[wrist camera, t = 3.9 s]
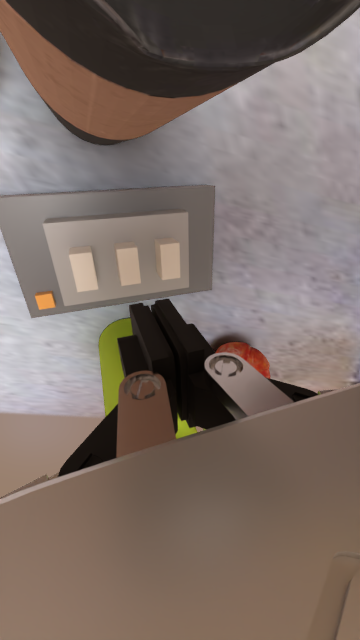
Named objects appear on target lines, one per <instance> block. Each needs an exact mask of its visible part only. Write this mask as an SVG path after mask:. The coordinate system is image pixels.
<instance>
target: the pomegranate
mask: <svg viewBox="0 0 360 640" xmlns="http://www.w3.org/2000/svg"><path fill="white" fill-rule="evenodd" d="M224 352H227V353H233V354H235V355H238V356H240V357H241V358H243V359H244V360H245V361H246V362H248V363H249V364H250V365H251V366H252V367H254V368H255V369H256V370H257V371H258V372H259V373H261V374H262V375H263V376H264V377H265V378H269V379H270V372H269V362H268V360H267V359H266V357H265V356H264V355H263V354H262V353H261V352H260V351H259V350H257V349H255V348H253V347H250V346H249V345H248V344H247V343H243V342H230V343H226V344H224V345H221V346H220V347H219V348H218V349H217V351H216V352H215V353H224Z"/></svg>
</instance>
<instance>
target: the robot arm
mask: <svg viewBox="0 0 360 640" xmlns="http://www.w3.org/2000/svg"><path fill="white" fill-rule="evenodd" d="M129 310H130V318H131V325H132V332H133V335H131V336H126V337H121V338H117V342H118V348H119V354H120V359H121V364H122V369H123V374H124V379H123V380H122V382H121V383H120V386H119V392H118V404H117V405H116V406H115V407H114V408H113V410H112V411H111V412H110V413H109V414H108V415H107V416H106V417H105V418H104V419H103V421H102V422H101V423H100V424H99V425H98V426H97V427H96V428H95V430H94V431H93V432H92V433H91V434H90V435H89V436H88V437H87V438H86V440H85V441H84V442H83V443H82V444H81V445H80V446H79V447H78V448H77V449H76V451H75V452H74V453H73V454H72V455H71V456H70V457H69V458H68V459H67V461H66V462H65V463H64V465H63V466H62V468H61V469H60V472H59V473H57V474H55V475H53V476H51V477H49V478H48V476H47V475H44V476H42V477H40V478H38V479H36V480H34V481H32V482H30V483H28V484H26V485H24V486H22V487H20V488H18V489H17V490H14V491H13V492H11V493H9V494H7V495H5V496H3V497H1V498H0V640H360V383H358V384H355V385H351V386H348V387H345V388H341V389H337V390H324V391H318V394H317V393H315V392H313V391H311V390H308V389H305V388H301V387H298V386H294V385H291V384H287V383H283V382H280V381H276V380H273V379H269V378H265V377H264V376H263V375H262V374H261V373H259V372H258V371H257V370H256V369H255V368H254V367H252V366H251V365H250V364H249V363H248V362H246V361H245V360H244V359H243V358H241V357H240V356H238V355H235V354H233V353H227V352H224V353H215V352H214V350H213V349H212V348H211V346H210V345H209V344H208V342H207V341H206V340H205V338H204V337H203V336H202V335H201V333H200V332H199V331H198V329H197V328H196V327H195V325H194V324H186V322H185V321H184V320H183V318H182V317H181V315H180V314H179V313H178V311H177V310H176V308H175V307H174V306H173V304H172V303H171V301H170V300H169V299H163V300H157V301H155V304H153V305H151V310H150V308H149V307H148V305H147V306H144V305H143V303H139V304H133V305H129ZM177 412H178V414H177ZM178 415H179V417H180V419H181V421H184V420H186V422H187V424H188V426H189V428H193V427H196V426H199V427H201V428H203V431H200V432H197V433H194V434H191V435H188V436H185V437H181V438H178V439H176V433H177V431H178Z"/></svg>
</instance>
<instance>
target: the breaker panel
mask: <svg viewBox="0 0 360 640" xmlns="http://www.w3.org/2000/svg"><path fill="white" fill-rule="evenodd" d="M214 205H215V186H211V185H192V186H173V187H154V188H135V189H116V190H97V191H78V192H59V193H40V194H21V195H2V196H0V228H1V231H2V234H3V237H4V240H5V243H6V246H7V249H8V252H9V254H10V257H11V260H12V263H13V266H14V269H15V272H16V275H17V278H18V280H19V283H20V286H21V289H22V292H23V295H24V298H25V301H26V304H27V307H28V309H29V312H30V315H31V318H35V317H41V316H48V315H54V314H60V313H67V312H73V311H79V310H86V309H92V308H98V307H105V306H111V305H117V304H124V303H130V302H136V301H143V300H149V299H155V298H162V297H168V296H174V295H181V294H187V293H193V292H200V291H206V290H212V264H213V235H214Z"/></svg>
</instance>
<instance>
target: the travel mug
mask: <svg viewBox="0 0 360 640" xmlns="http://www.w3.org/2000/svg"><path fill="white" fill-rule="evenodd" d="M358 8H360V0H0V31H1V33H2V35H3V36H4V38H5V40H6V42H7V44H8V45H9V47H10V49H11V51H12V52H13V54H14V56H15V58H16V59H17V61H18V63H19V65H20V67H21V68H22V70H23V72H24V73H25V75H26V76H27V78H28V79H29V81H30V83H31V84H32V86H33V87H34V88H35V90H36V91H37V92H38V94H39V95H40V96H41V98H42V99H43V100H44V102H45V103H46V104H47V106H48V107H49V108H50V110H51V111H52V112H53V114H54V115H55V116H56V117H57V119H58V120H59V121H60V122H61V123H62V124H63V125H64V126H65V127H66V128H67V129H68V130H69V131H71V132H72V133H73V134H75V135H76V136H78V137H79V138H81V139H83V140H85V141H88V142H91V143H94V144H99V145H112V144H117V143H121V142H124V141H128V140H131V139H134V138H138V137H141V136H143V135H145V134H148V133H150V132H152V131H154V130H155V129H157V128H159V127H161V126H163V125H164V124H166V123H168V122H170V121H171V120H173V119H175V118H177V117H179V116H180V115H182V114H184V113H186V112H187V111H189V110H191V109H193V108H195V107H196V106H198V105H200V104H202V103H204V102H205V101H207V100H209V99H211V98H212V97H214V96H216V95H218V94H220V93H221V92H223V91H225V90H227V89H228V88H230V87H232V86H234V85H236V84H237V83H239V82H241V81H243V80H245V79H246V78H248V77H250V76H252V75H254V74H255V73H257V72H259V71H261V70H262V69H264V68H266V67H268V66H270V65H271V64H273V63H275V62H278V61H281V60H284V59H287V58H289V57H291V56H294V55H296V54H298V53H300V52H302V51H303V50H305V49H306V48H308V47H310V46H311V45H313V44H314V43H316V42H317V41H319V40H320V39H322V38H323V37H325V36H326V35H328V34H329V33H330V32H331V31H333V30H334V29H335V28H336V27H338V26H339V25H340V24H341V23H342V22H344V21H345V20H346V19H347V18H349V17H350V16H351V15H352V14H353V13H354V12H355V11H356V10H357V9H358Z"/></svg>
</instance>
